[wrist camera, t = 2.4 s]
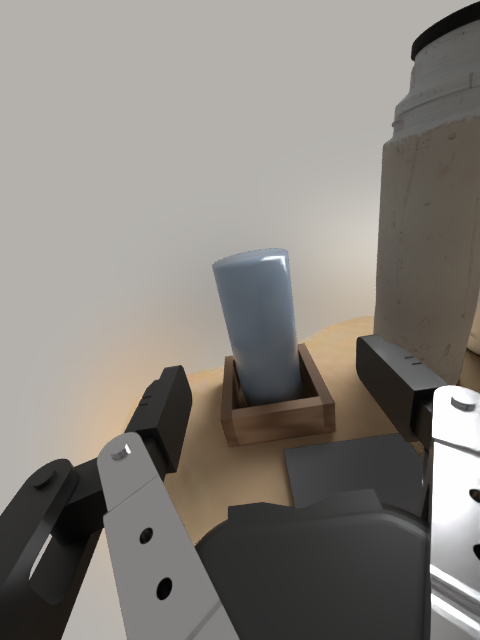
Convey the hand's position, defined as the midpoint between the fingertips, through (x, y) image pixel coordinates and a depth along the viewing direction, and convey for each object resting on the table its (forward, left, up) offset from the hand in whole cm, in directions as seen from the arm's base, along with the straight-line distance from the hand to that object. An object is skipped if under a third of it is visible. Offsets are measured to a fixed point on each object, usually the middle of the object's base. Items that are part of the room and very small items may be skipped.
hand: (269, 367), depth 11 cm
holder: (0, -12, -13) cm, 17 cm away
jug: (0, -13, -13) cm, 18 cm away
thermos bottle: (-16, -13, -13) cm, 25 cm away
